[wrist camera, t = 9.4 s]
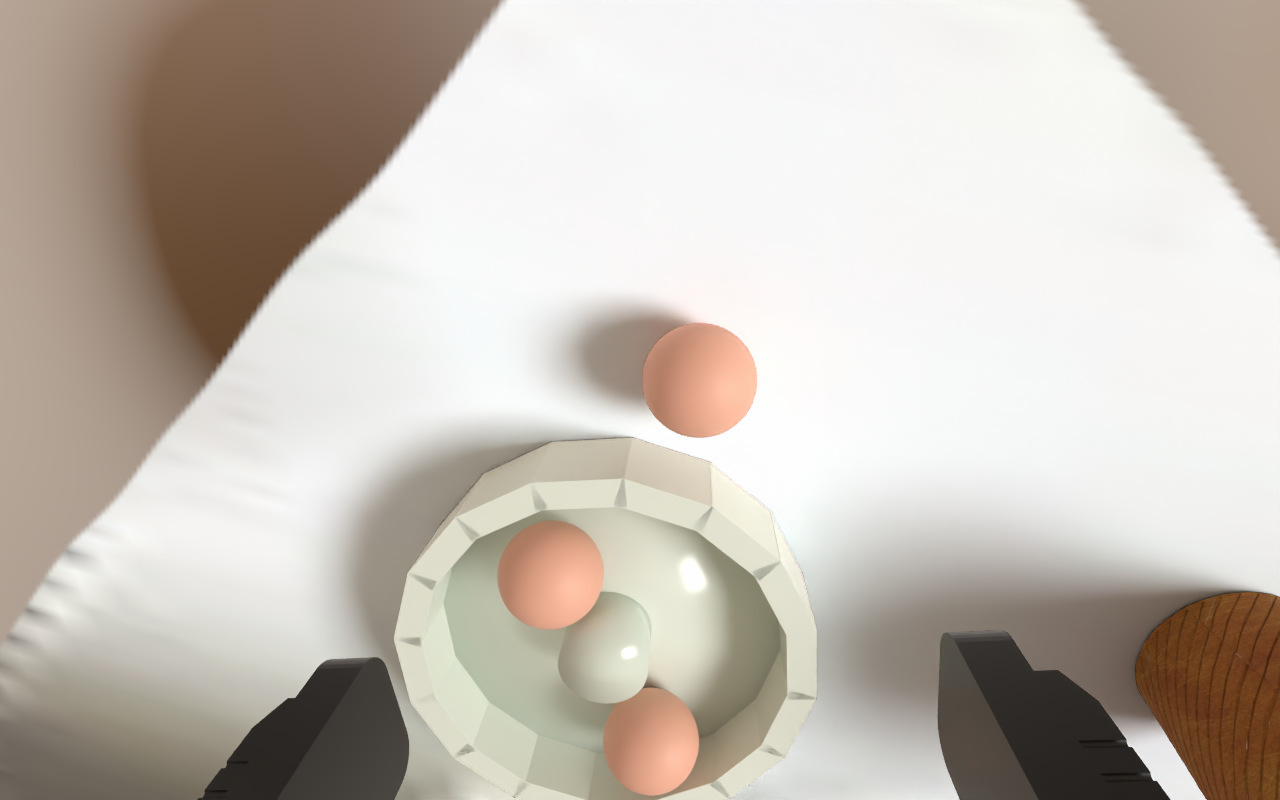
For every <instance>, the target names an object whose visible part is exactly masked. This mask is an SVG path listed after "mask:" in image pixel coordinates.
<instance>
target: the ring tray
mask: <svg viewBox="0 0 1280 800" xmlns="http://www.w3.org/2000/svg"><path fill="white" fill-rule="evenodd" d="M551 520H555V521H563V522H567V523H570V524H573V525H575V526H577V527H578V528H580V529H581V530H583V531H584V532H585V533H586V534H588V535H589V536H590V537H591V539H592V540H593V541H594V543H595V544H596V546H597V548H598V550H599V552H600V554H601V557H602V561H603V566H604V579H603V585H602V589H601V592H600V595H599V597H598V599H597V601H596V603H595V604H594V606H593V607H592V608H591V610H590V611H589V612H588V613H587V614H586V615H585V616H584V617H582V618H581V619H580V620H578V621H577V622H575V623H573V624H571V625H569V626H566V627H564V628H559V629H549V630H546V629H538V628H534V627H531V626H529V625H526V624H525V623H523V622H521V621H520V620H518V619H517V618H516V617H515V616H514V615H513V614H512V613H511V612H510V611H509V610H508V609H507V607H506V605H505V604H504V602H503V600H502V598H501V595H500V592H499V588H498V581H497V573H498V566H499V561H500V558H501V556H502V553H503V551H504V549H505V548H506V546H507V545H508V543H509V542H510V541H511V539H512V538H513V537H514V536H515V535H516V534H517V533H519V532H520V531H521V530H523V529H524V528H526V527H528V526H530V525H532V524H535V523H538V522H541V521H551ZM393 639H394V642H395V646H396V650H397V654H398V657H399V661H400V665H401V669H402V672H403V676H404V680H405V684H406V687H407V691H408V695H409V699H410V703H411V704H412V705H413V707H414V708H415V709H416V710H417V712H418V713H419V714H420V716H421V717H422V718H423V719H424V721H425V722H426V723H427V725H428V726H429V727H430V728H431V730H432V731H433V732H434V734H435V735H436V736H437V737H438V739H439V740H440V741H441V743H442V744H443V745H444V746H445V748H446V749H447V750H448V752H449V753H450V754H451V755H452V757H453V758H454V759H456V760H458V761H459V762H461V763H462V764H464V765H465V766H467V767H468V768H470V769H471V770H473V771H474V772H476V773H477V774H479V775H480V776H482V777H484V778H485V779H487V780H488V781H490V782H491V783H493V784H494V785H496V786H497V787H499V788H500V789H502V790H503V791H505V792H507V793H508V794H510V795H511V796H513V797H514V798H517V799H520V800H728V799H731V798H732V797H733V796H735V795H736V794H737V793H739V792H740V791H741V790H742V789H744V788H745V787H746V786H748V785H749V784H750V783H752V782H753V781H754V780H756V779H757V778H758V777H760V776H761V775H762V774H764V773H765V772H766V771H768V770H769V769H770V768H772V767H773V766H774V765H776V764H777V763H778V762H780V761H781V760H782V759H784V758H785V757H786V755H787V753H788V751H789V749H790V747H791V746H792V744H793V742H794V740H795V738H796V736H797V734H798V733H799V731H800V729H801V727H802V725H803V723H804V721H805V720H806V718H807V716H808V714H809V712H810V710H811V708H812V707H813V705H814V703H815V701H816V699H817V628H816V624H815V620H814V616H813V612H812V608H811V604H810V600H809V597H808V593H807V589H806V585H805V581H804V577H803V573H802V571H801V569H800V567H799V565H798V564H797V562H796V560H795V558H794V556H793V554H792V552H791V550H790V548H789V546H788V544H787V542H786V540H785V538H784V536H783V534H782V532H781V530H780V528H779V527H778V525H777V523H776V521H775V519H774V517H773V515H772V513H771V511H770V510H769V509H767V508H766V507H765V506H764V505H762V504H761V503H760V502H759V501H758V500H756V499H755V498H754V497H753V496H751V495H750V494H749V493H748V492H746V491H745V490H744V489H743V488H741V487H740V486H739V485H738V484H737V483H735V482H734V481H733V480H732V479H730V478H729V477H728V476H727V475H725V474H724V473H723V472H722V471H720V470H719V469H718V468H717V467H716V466H714V465H713V464H712V463H711V462H708V461H705V460H701V459H698V458H695V457H692V456H689V455H686V454H683V453H679V452H676V451H673V450H670V449H667V448H664V447H661V446H657V445H654V444H651V443H648V442H645V441H642V440H639V439H635V438H614V439H595V440H575V441H556V442H553V441H552V442H550V443H548V444H546V445H544V446H542V447H539V448H537V449H535V450H533V451H531V452H529V453H526V454H524V455H522V456H520V457H518V458H516V459H514V460H511V461H509V462H507V463H505V464H503V465H501V466H499V467H496V468H494V469H492V470H490V471H488V472H486V473H484V474H483V475H482V477H481V478H480V479H479V480H478V481H477V482H476V484H475V485H474V486H473V487H472V488H471V490H470V491H469V492H468V493H467V494H466V495H465V497H464V498H463V499H462V500H461V501H460V503H459V504H458V505H457V506H456V507H455V508H454V510H453V511H452V512H451V513H450V514H449V516H448V517H447V518H446V519H445V520H444V521H443V523H441V525H440V526H439V528H438V529H437V531H436V532H435V534H434V535H433V536H432V538H431V539H430V541H429V542H428V544H427V545H426V547H425V548H424V550H423V551H422V552H421V554H420V555H419V557H418V558H417V560H416V561H415V563H414V564H413V566H412V567H411V569H410V570H409V571H408V573H407V579H406V583H405V588H404V592H403V597H402V602H401V606H400V611H399V615H398V620H397V625H396V629H395V634H394V638H393ZM643 688H659V689H663V690H666V691H668V692H670V693H672V694H674V695H676V696H677V697H678V698H680V699H681V700H682V701H683V702H684V703H685V704H686V706H687V707H688V708H689V710H690V711H691V713H692V715H693V717H694V719H695V722H696V725H697V729H698V734H699V750H698V755H697V759H696V762H695V765H694V767H693V769H692V771H691V773H690V774H689V776H688V777H687V778H686V779H685V781H684V782H683V783H682V784H680V785H679V786H678V787H677V788H675V789H673V790H672V791H670V792H667V793H665V794H661V795H654V796H648V795H642V794H638V793H635V792H633V791H631V790H629V789H628V788H626V787H625V786H623V785H622V784H621V783H620V782H619V781H618V780H617V779H616V778H615V776H614V775H613V773H612V772H611V770H610V768H609V766H608V764H607V761H606V758H605V754H604V748H603V734H604V728H605V724H606V721H607V719H608V716H609V714H610V712H611V711H612V709H613V708H614V706H615V705H616V704H617V703H618V702H622V701H625V700H627V699H629V698H631V697H633V696H634V695H636V694H637V693H638V692H639V691H640V690H641V689H643Z"/></svg>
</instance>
